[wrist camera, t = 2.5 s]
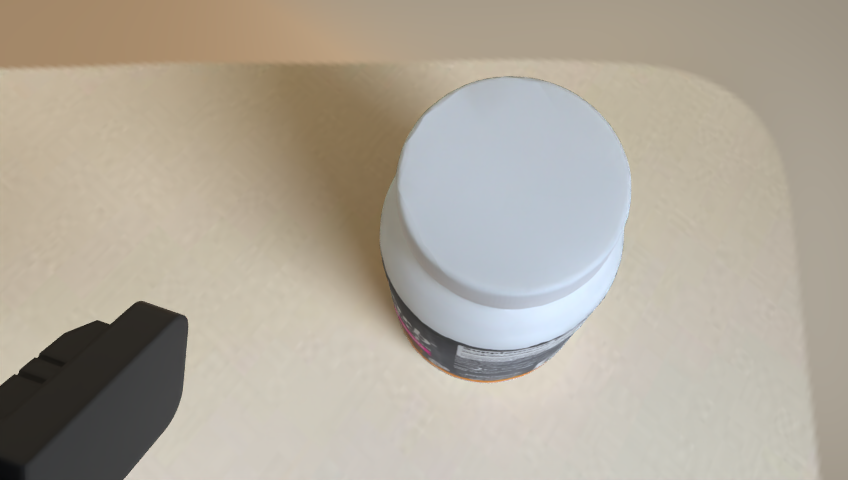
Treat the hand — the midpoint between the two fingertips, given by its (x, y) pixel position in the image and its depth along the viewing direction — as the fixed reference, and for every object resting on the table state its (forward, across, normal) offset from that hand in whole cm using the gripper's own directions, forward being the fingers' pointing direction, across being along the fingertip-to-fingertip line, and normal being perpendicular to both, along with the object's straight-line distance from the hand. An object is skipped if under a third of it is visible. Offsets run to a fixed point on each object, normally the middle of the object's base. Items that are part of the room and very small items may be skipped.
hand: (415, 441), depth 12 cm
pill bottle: (+12, 0, +5) cm, 13 cm away
